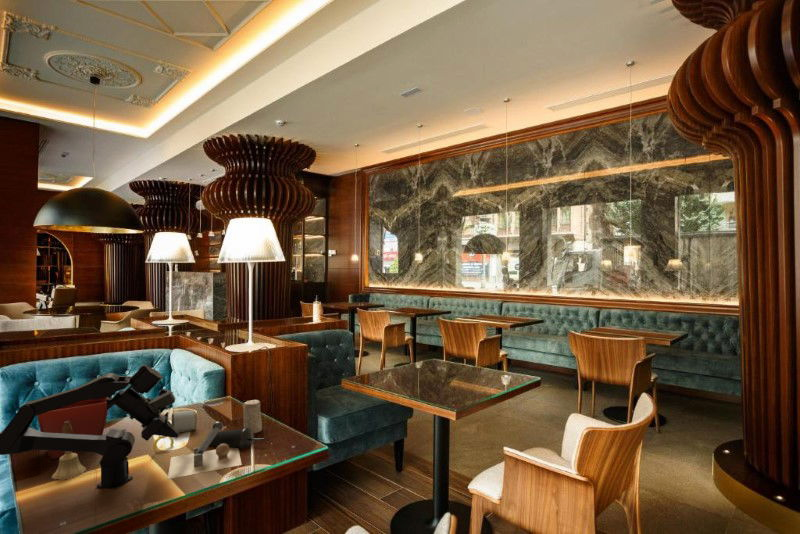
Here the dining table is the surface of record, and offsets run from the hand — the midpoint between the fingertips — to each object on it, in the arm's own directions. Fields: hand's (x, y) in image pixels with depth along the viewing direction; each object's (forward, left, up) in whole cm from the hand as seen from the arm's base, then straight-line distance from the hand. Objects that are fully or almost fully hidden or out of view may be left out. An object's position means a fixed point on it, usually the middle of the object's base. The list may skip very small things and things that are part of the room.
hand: (178, 436), depth 134 cm
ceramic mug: (+31, +22, -11) cm, 39 cm away
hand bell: (-6, +33, -11) cm, 35 cm away
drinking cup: (+18, +1, -8) cm, 20 cm away
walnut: (+7, -10, -9) cm, 15 cm away
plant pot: (+10, +47, -11) cm, 50 cm away
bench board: (+4, -6, -10) cm, 13 cm away
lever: (+3, -4, -6) cm, 9 cm away
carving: (+31, -7, -11) cm, 33 cm away
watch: (+11, +15, -11) cm, 21 cm away
